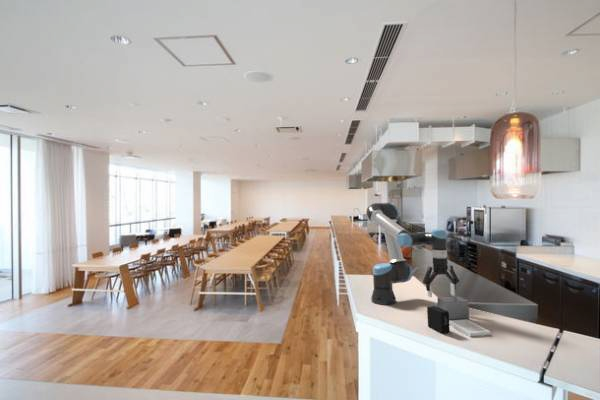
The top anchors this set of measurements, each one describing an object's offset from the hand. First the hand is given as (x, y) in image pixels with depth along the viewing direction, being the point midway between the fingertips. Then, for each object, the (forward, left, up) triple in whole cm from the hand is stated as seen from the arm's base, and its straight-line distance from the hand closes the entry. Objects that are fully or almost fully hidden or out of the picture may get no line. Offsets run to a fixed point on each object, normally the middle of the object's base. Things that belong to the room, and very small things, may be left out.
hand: (441, 296), depth 169 cm
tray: (+23, -1, -10) cm, 25 cm away
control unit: (+10, 0, -10) cm, 14 cm away
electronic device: (+21, -15, -10) cm, 28 cm away
